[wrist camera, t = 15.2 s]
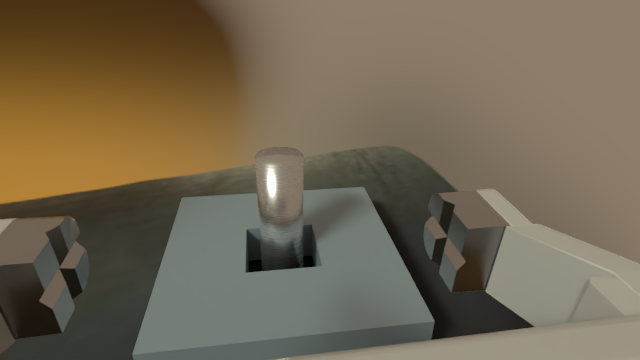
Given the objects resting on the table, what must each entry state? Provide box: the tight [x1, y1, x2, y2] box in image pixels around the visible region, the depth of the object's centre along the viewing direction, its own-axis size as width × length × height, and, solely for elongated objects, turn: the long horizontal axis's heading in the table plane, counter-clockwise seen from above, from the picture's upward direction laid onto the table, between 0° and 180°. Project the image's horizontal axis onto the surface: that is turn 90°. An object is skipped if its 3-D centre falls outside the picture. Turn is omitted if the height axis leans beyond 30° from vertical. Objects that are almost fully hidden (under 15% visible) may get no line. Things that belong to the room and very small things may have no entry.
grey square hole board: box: [132, 187, 435, 360], centre depth 29 cm, size 16×16×3 cm
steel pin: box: [255, 147, 303, 271], centre depth 27 cm, size 3×3×10 cm
